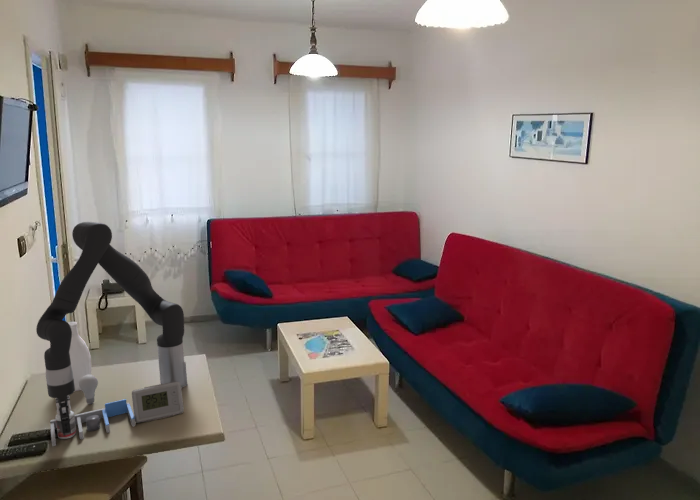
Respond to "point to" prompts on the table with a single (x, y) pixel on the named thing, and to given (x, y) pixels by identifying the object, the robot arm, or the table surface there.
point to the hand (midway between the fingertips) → (66, 428)
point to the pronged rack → (97, 417)
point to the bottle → (79, 356)
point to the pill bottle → (72, 426)
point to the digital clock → (157, 402)
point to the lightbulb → (88, 387)
